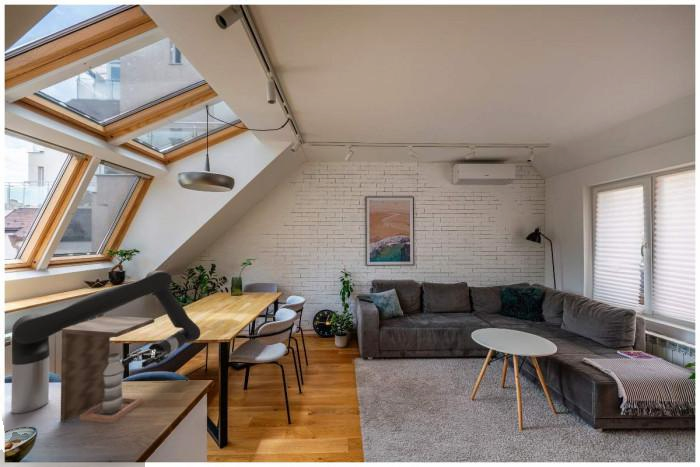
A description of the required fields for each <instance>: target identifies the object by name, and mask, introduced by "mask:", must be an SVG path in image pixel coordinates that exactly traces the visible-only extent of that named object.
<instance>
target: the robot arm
mask: <svg viewBox="0 0 700 467" xmlns="http://www.w3.org/2000/svg"><path fill="white" fill-rule="evenodd" d="M172 281H173V278H172V275H171V274H170V273H169V272H167V271H165V270H152V271H150V272H148V273H147V274H146V276H145V277H143V278H141V279H138V280H135V281H133V282H130V283H125V284H120V285H116V286H112V287H109V288H108V287H107V288H105V289H102V290H99V291H97V292H93V293H91V294H87V295H86V296H85V297H83V298H81V299H78V300H77V301H75V302H74V303H72V304H70V305H68V306H66V307H64V308H62V309H60V310H59V309H58V310H56V311H52V312H50V313H47V314H39V313H29V314H25V315H23V316H22V317H19V318H18V319H17V320H16V321H15V322H14V323H13V326H12V328H11V329H12V330H11V336H12V337H11V399H10V400H11V403H10V404H11V407H10V408H11V409H10V410H11V413H12V414H24V413H29V412H32V411H35V410H37V409H39V408H42V407H44V406H45V405H47V404H48V403H49V401H50V399H49V394H50V393H49V392H50V391H49V390H50V340H49V338H50V337H51V336H53V335H55V334H57V333H58V332H60V331H61V332H62V329H63V328H67V327H70V326H73V325H77V324H80V323H83V322H86V321H89V320H91V319H94V318H96V317H98V316H100V315H101V316H102V315H103V314H106V313H108V312H110V311H114V310H116V309H118V308H120V307H123V306H124V305H127V304H129V303H131V302H133V301H135V300H137V299H139V298H142V297H145V296H147V295H151V294H153V295H154V296H155V298H156V299H157V300H158V301H159V303H160V304H161V306H162V307H163V309H164V312H165V313H166V315H167V317H168V319H169V321H170V322H171V323H172V325H173V326H174V328H176V329H180V330H178V331H176V332H175V333H173V334H171V335H169V336H167V337H164V338H162V339H160V340H157V341H155V342H154V343H153V342H152V344H150V346H149V347H148V349H145V350H143V351H142V348H141V349H136V350H134V351H132V352H130V353H128V354H127V355H126V358H125V359H122V361H121V362H122V364H123V365H124V367H125V366H127V365H129V364H131V363H133V362H136V361H137V362H141V361H142V362H141V367H142V368H146V367H148V366H149V365H153V364H155V363H156V364H160V363H162V362H163V361H164V360H166V359H167V358H168V357H169V355H171V354H172V353H174V352H175V351H177V350H178V349H180V348H182V347H183V346H184V345H185V344H186V343H191V342H195V341H197V340H198V339H199V338H200V337H201V329H200V328H199V325H197V324H196V323H195V322H194V321H193V320H192V319H191V318H189V315H188V314H187V312H186V310H185V308H184V307H183V306H182V304H181V302H179V300H178V299H177V298H176V297H175V296H174V294H173V293H172V291H171V289H170V285H171V284H172ZM140 357H141V358H140Z"/></svg>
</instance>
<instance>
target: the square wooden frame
mask: <svg viewBox="0 0 700 467" xmlns="http://www.w3.org/2000/svg"><path fill="white" fill-rule="evenodd" d="M128 402H129V404H128V405H127V406H125V407H124V408H122V409H121V410H118V412H116V413H115V414H113V415H107V414H106V415H105V414H97V413H96V412H97V410H98V411H99V410H101V408H100V406H101V402H99V403H97V404H95V405H93V407H91V408H89V409H87V410H85V411H83V413H81V414H80V415H79V420H82V421H91V422H101V423H107V422H108V423H110V424H113V423H115V422H116V421H118V420H119V419H121V416H122V417H123V416H124V415H126V414H127V413H128V411H129V412H130V411H131V410H133V409H134V408H136V407H138V404H139V405H140V404H141V403H142V402H143V397H138V396H137V397H135V396H125V395H123V403H128ZM94 412H95V413H94ZM92 413H93V414H92Z"/></svg>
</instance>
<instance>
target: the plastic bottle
mask: <svg viewBox="0 0 700 467" xmlns="http://www.w3.org/2000/svg"><path fill="white" fill-rule="evenodd" d="M107 362H108V363H107V364H106V366H105V367H104V368H103V370H102V379H103V397H102V400H100V401H101V402H100V403H101V406H100V408H101V409H100V412H101V413H102V414H103V415H105V414H106V415H107V414H112V413H114V412H117V411H120V409H121V408H122V407H123V405H124V402H123V396H124V395H123V388H122V386H123V377H124V372H125V366H124V365H123V364H122V361H121V354H120V353H119V352H115V353H111V354H110V353H109V355H108V356H107Z"/></svg>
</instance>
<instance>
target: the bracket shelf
mask: <svg viewBox="0 0 700 467" xmlns="http://www.w3.org/2000/svg"><path fill="white" fill-rule="evenodd" d="M153 323H155V318H151V317H136V316H135V317H134V316H120V315H104V316H100V317H97V318H92V319H89V320H86V321H82V322H80V323H77V324H74V325H72V326H69V327H67V328H63V329H62V330H61V361H60V362H61V368H60V369H61V371H60V372H61V374H60V377H61V378H60V422H63V423H64V422H66V421H68V420H70V419H71V418H73V417H75V416H76V415H78V414H80V413H81V412H84V411H86V409H87V410H88V408H90V407H91V405H92V406H94V405H95V404H96V402H97V403H98V402H100V401H102V397H103V379H102V370H103V368H104V367H105V366H106V364H107V363H108V362H107V356H108V355H110V344H111V343H110V341H111V340H110V338H119V337H121V336H123V335H125V334H129V333H131V332H133V331H136V330H138V329H142V328H143V327H146V326H149V325H151V324H153ZM94 403H95V404H94Z"/></svg>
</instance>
